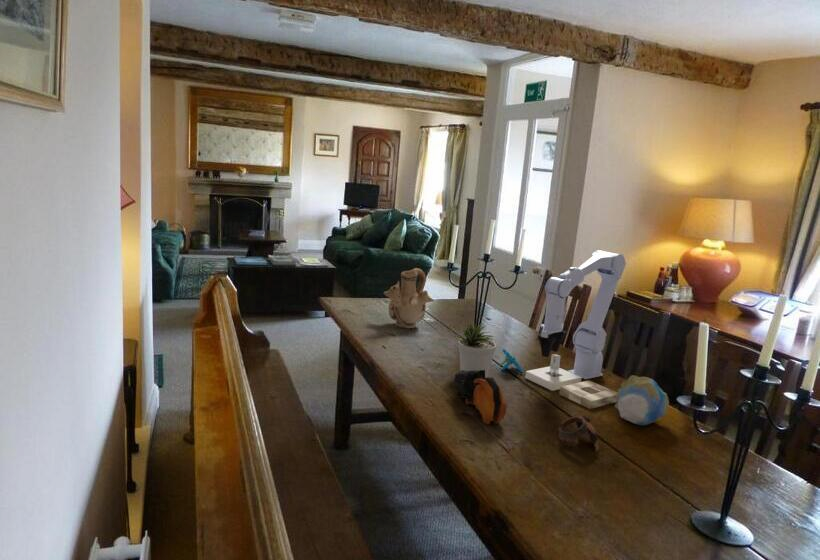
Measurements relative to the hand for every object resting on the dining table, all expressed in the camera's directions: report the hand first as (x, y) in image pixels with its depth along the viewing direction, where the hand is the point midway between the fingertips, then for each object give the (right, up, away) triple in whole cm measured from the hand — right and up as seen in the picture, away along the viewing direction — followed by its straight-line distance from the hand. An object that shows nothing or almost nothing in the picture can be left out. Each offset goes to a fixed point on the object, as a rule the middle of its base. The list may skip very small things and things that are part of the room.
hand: (549, 353), depth 185 cm
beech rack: (+10, -13, -8) cm, 18 cm away
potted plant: (-25, -8, +3) cm, 27 cm away
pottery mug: (-2, -18, -39) cm, 43 cm away
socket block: (+2, -10, +4) cm, 11 cm away
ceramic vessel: (-49, +4, +55) cm, 74 cm away
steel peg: (+2, -10, +4) cm, 11 cm away
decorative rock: (+20, -17, -22) cm, 34 cm away
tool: (-27, -13, -23) cm, 38 cm away
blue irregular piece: (-11, -7, +12) cm, 18 cm away
